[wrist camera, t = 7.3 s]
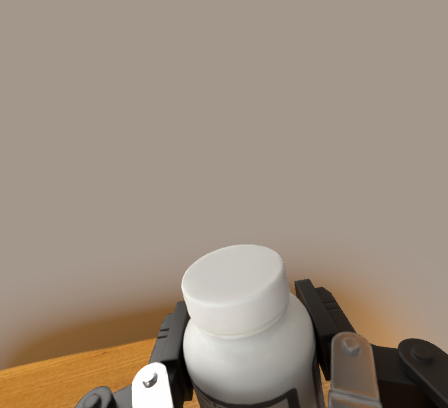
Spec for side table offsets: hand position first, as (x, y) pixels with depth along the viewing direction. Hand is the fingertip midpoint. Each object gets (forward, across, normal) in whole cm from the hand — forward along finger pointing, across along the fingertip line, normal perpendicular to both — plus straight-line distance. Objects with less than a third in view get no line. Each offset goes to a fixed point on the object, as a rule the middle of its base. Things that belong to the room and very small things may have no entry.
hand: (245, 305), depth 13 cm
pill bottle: (-3, 0, +6) cm, 7 cm away
